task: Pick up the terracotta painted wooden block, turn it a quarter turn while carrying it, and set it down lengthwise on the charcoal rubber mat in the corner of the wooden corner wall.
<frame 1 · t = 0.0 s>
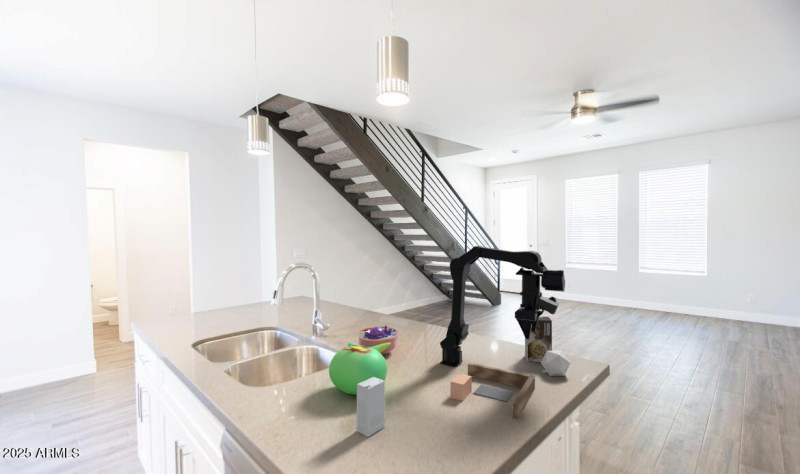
hand: (530, 335, 121), 15 cm above the countertop, tool pointing down, fingers open, 9 cm apart
wooden corner wall: (488, 393, 111), on the countertop
coffee box: (537, 359, 140), on the countertop
toy bird: (359, 391, 113), on the countertop
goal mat: (493, 393, 111), on the countertop
block: (461, 395, 110), on the countertop
cell model: (378, 353, 148), on the countertop
skincare box: (370, 430, 91), on the countertop
die: (555, 374, 126), on the countertop
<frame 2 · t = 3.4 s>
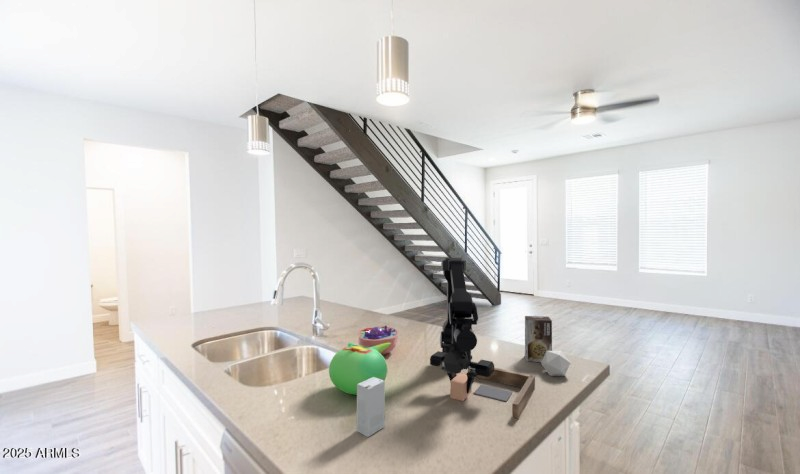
hand: (461, 391, 110), 1 cm above the countertop, tool pointing down, fingers closed on block, 4 cm apart
block: (461, 394, 110), on the countertop, touching gripper
everything else where it was.
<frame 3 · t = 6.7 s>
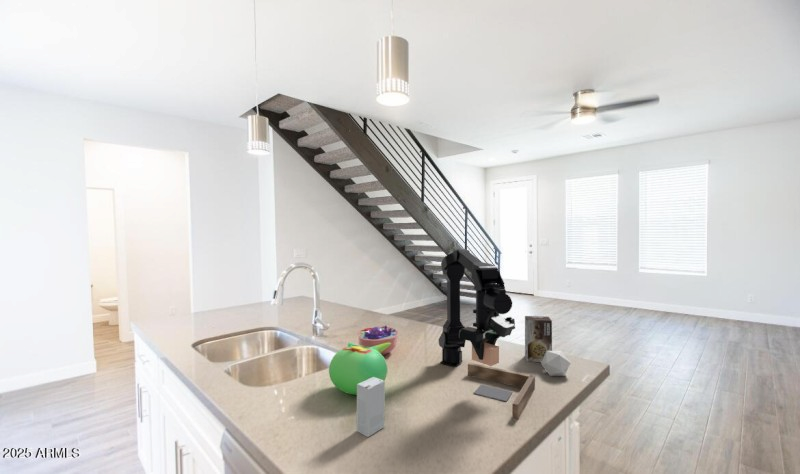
hand: (485, 357, 111), 11 cm above the countertop, tool pointing down, fingers closed on block, 4 cm apart
block: (485, 361, 111), point 10 cm above the countertop, touching gripper
everything else where it was.
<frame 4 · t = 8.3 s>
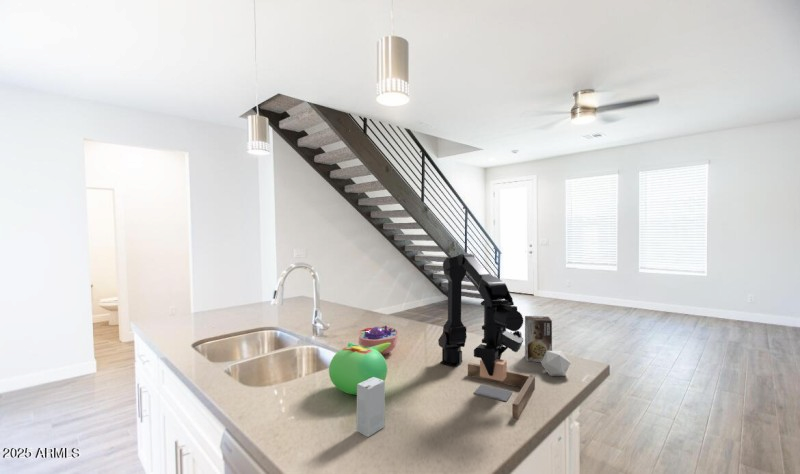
hand: (493, 373, 111), 6 cm above the countertop, tool pointing down, fingers closed on block, 4 cm apart
block: (493, 376, 111), point 5 cm above the countertop, touching gripper
everything else where it was.
when the fingers open (2 cm above the countertop, at t = 9.9 s): block drops 1 cm, resting on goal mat.
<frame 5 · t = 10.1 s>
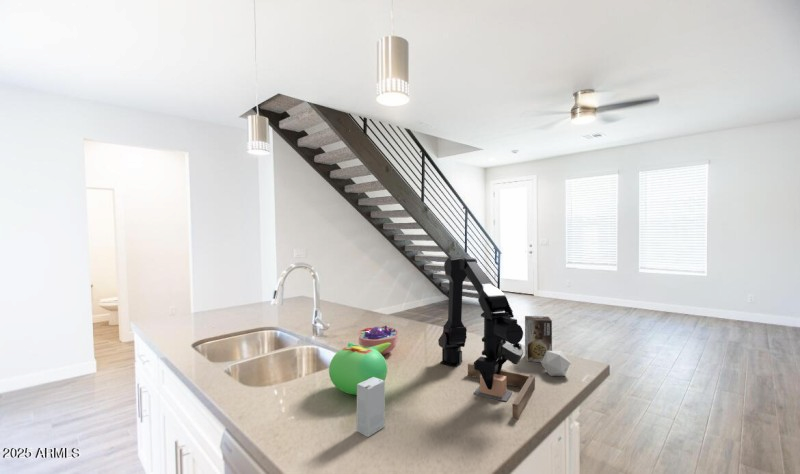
hand: (493, 385, 111), 2 cm above the countertop, tool pointing down, fingers open, 6 cm apart
block: (493, 392, 111), resting on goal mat
everything else where it was.
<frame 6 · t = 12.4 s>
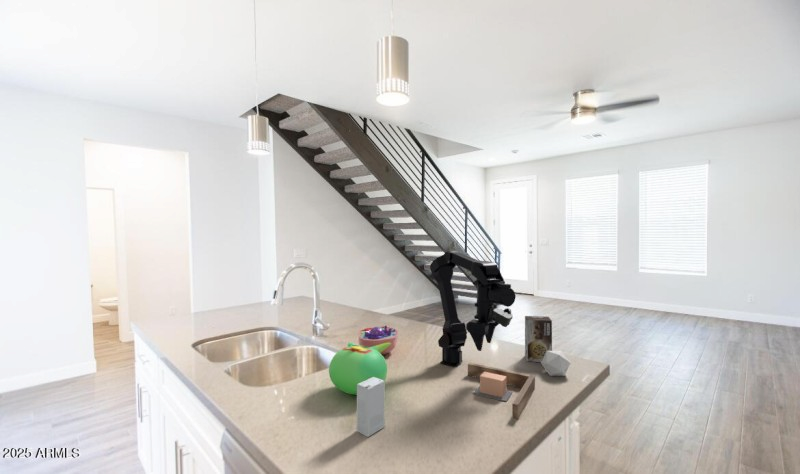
hand: (484, 346, 121), 11 cm above the countertop, tool pointing down, fingers open, 9 cm apart
nothing on the countertop moved.
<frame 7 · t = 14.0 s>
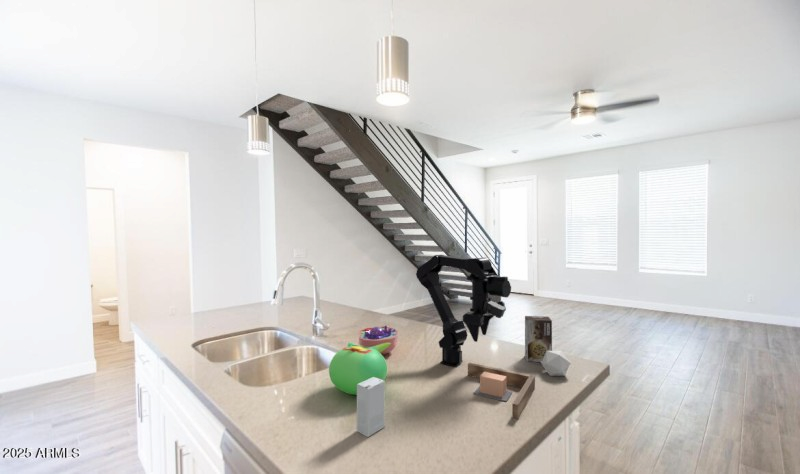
hand: (480, 338, 127), 12 cm above the countertop, tool pointing down, fingers open, 9 cm apart
nothing on the countertop moved.
at the end: block 0.0 cm off-centre on the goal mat, point 0.3 cm above the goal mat's base; block tilted 0°; the gripper is holding nothing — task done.
